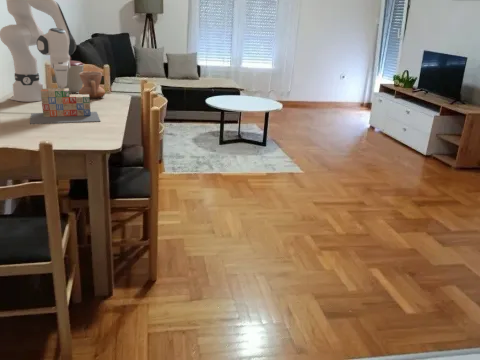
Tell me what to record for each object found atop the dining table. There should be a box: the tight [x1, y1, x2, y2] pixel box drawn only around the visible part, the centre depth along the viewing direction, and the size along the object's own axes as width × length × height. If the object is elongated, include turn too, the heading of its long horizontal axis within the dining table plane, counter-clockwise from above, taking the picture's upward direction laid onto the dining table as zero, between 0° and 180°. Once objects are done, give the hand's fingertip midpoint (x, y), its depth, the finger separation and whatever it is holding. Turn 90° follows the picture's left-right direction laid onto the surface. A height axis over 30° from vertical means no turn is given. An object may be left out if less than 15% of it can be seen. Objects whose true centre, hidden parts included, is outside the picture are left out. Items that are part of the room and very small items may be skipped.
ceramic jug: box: [78, 70, 106, 100], centre depth 261 cm, size 18×14×14 cm
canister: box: [53, 56, 85, 94], centre depth 273 cm, size 18×18×21 cm
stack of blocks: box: [41, 87, 92, 117], centre depth 218 cm, size 21×6×12 cm, turn 109°
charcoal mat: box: [29, 111, 101, 125], centre depth 216 cm, size 20×30×1 cm, turn 111°
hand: (63, 92), depth 225 cm, fingers closed
